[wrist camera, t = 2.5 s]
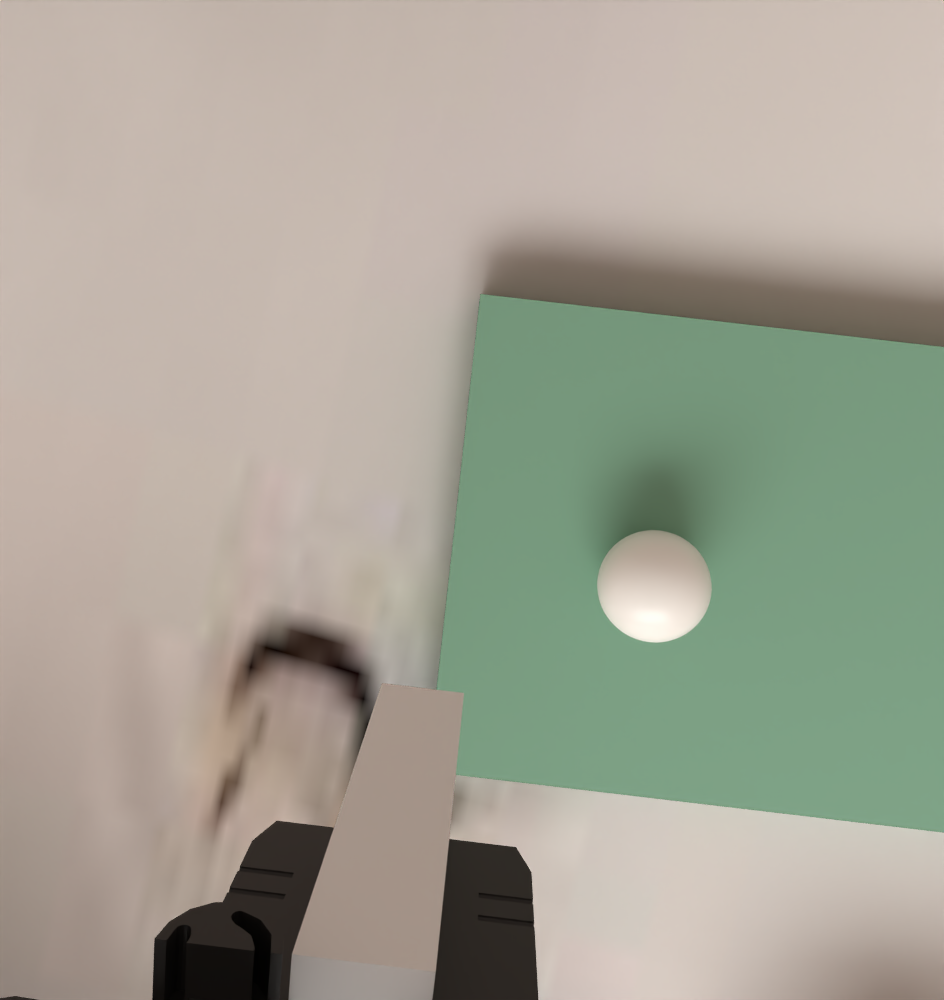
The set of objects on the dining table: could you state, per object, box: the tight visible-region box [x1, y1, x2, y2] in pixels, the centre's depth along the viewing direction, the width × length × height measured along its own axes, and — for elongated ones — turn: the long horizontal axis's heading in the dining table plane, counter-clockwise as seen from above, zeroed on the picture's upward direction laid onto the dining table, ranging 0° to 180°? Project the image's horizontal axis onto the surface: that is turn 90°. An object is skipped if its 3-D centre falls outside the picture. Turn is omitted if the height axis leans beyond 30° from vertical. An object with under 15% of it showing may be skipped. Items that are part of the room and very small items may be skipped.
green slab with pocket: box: [436, 294, 944, 832], centre depth 30 cm, size 34×18×4 cm, turn 84°
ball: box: [597, 530, 712, 643], centre depth 28 cm, size 4×4×4 cm
